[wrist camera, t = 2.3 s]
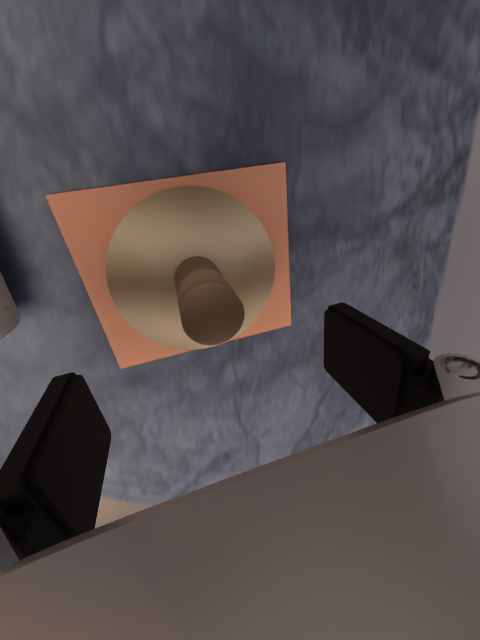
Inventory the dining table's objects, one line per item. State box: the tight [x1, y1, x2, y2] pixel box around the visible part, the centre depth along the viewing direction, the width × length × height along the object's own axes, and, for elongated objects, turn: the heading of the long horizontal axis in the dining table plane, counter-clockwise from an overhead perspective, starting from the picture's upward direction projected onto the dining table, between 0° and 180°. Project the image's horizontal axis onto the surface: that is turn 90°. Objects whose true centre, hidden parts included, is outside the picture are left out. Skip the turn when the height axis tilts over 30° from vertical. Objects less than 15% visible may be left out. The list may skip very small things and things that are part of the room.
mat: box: [45, 162, 291, 369], centre depth 19 cm, size 12×14×1 cm
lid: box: [106, 186, 275, 350], centre depth 15 cm, size 11×11×7 cm
